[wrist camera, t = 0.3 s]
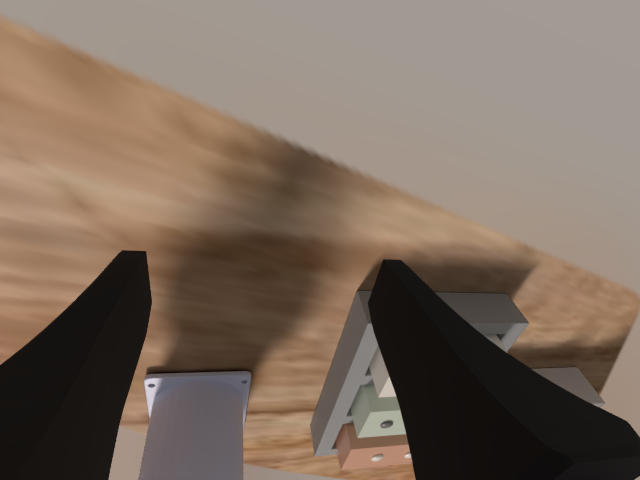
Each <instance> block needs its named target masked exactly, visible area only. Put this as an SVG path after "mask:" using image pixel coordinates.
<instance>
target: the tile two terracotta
mask: <svg viewBox="0 0 640 480" xmlns="http://www.w3.org/2000/svg"><path fill="white" fill-rule="evenodd" d="M335 442H336V448H337V453H338V458H339V464H340V469H341V470H347V469H357V468H367V467H377V466H387V465H397V464H407V463H412V458H411V454H410V449H409V445H408V440H407V435H406V434H402V435H389V436H377V437H364V438H357V435H356V430H355V426H354V423H346V424H343V425H342V427H341V429H340V431H339V433H338V436H337V438H336V440H335Z"/></svg>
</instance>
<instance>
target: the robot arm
mask: <svg viewBox="0 0 640 480" xmlns="http://www.w3.org/2000/svg"><path fill="white" fill-rule="evenodd" d="M151 305H152V298H151V290H150V281H149V272H148V264H147V255H146V251H125V250H122V251H121V252H120V253H119V254H118V255H117V256H116V257H115V258H114V259H113V260H112V262H111V263H110V264H109V265H108V266H107V267H106V268H105V269H104V271H103V272H102V273H101V274H100V275H99V276H98V277H97V278H96V279H95V280H94V281H93V282H92V284H91V285H90V286H89V287H88V288H87V289H86V290H85V291H84V292H83V293H82V294H81V295H80V296H79V297H78V298H77V299H76V300H75V301H74V302H73V303H72V304H71V305H70V306H69V307H68V308H67V309H66V310H65V311H63V312H62V313H61V314H60V315H59V316H58V317H57V318H56V319H55V320H54V321H53V322H52V323H50V324H49V325H48V326H47V327H46V328H45V329H44V330H43V331H42V332H40V333H39V334H38V335H37V336H36V337H35V338H33V339H32V340H31V341H30V342H29V343H28V344H26V345H25V346H24V347H23V348H21V349H20V350H19V351H18V352H16V353H15V354H14V355H13V356H11V357H10V358H9V359H8V360H6V361H5V362H4V363H2V364H1V365H0V480H108V478H109V473H110V468H111V463H112V457H113V453H114V448H115V443H116V438H117V433H118V428H119V423H120V420H121V416H122V412H123V408H124V405H125V402H126V399H127V395H128V392H129V389H130V386H131V382H132V379H133V376H134V373H135V370H136V366H137V363H138V360H139V357H140V353H141V350H142V347H143V344H144V340H145V337H146V333H147V328H148V322H149V317H150V311H151ZM368 308H369V313H370V318H371V323H372V327H373V331H374V334H375V337H376V340H377V343H378V346H379V349H380V352H381V355H382V357H383V360H384V363H385V366H386V369H387V371H388V374H389V377H390V380H391V383H392V385H393V388H394V391H395V394H396V397H397V400H398V404H399V407H400V411H401V415H402V419H403V423H404V427H405V431H406V435H407V440H408V445H409V449H410V454H411V458H412V463H413V467H414V473H415V478H416V480H634V479H636V478H637V477H639V476H640V437H639V436H638V434H637V433H636V432H635V431H634V429H633V428H632V427H631V425H630V424H629V423H628V422H627V421H625V420H623V419H621V418H619V417H617V416H615V415H613V414H611V413H609V412H607V411H605V410H603V409H601V408H599V407H597V406H595V405H593V404H591V403H589V402H587V401H585V400H583V399H581V398H580V397H578V396H576V395H574V394H572V393H571V392H569V391H567V390H565V389H564V388H562V387H560V386H558V385H556V384H555V383H553V382H551V381H550V380H548V379H546V378H545V377H543V376H541V375H540V374H538V373H537V372H535V371H534V370H532V369H530V368H529V367H527V366H526V365H524V364H523V363H521V362H520V361H518V360H517V359H515V358H514V357H512V356H511V355H509V354H508V353H507V352H505V351H504V350H502V349H501V348H500V347H498V346H497V345H496V344H494V343H493V342H492V341H490V340H489V339H488V338H486V337H485V336H484V335H482V334H481V333H480V332H479V331H477V330H476V329H475V328H474V327H473V326H471V325H470V324H469V323H468V322H467V321H466V320H464V319H463V318H462V317H461V316H460V315H459V314H457V313H456V312H455V311H454V310H453V309H452V308H451V307H450V306H449V305H448V304H446V303H445V302H444V301H443V300H442V299H441V298H440V297H439V296H438V295H437V294H436V293H435V292H434V291H433V290H432V289H431V288H430V287H429V286H428V285H427V284H425V283H424V282H423V281H422V280H421V279H420V278H419V277H418V276H417V275H416V274H415V273H414V272H413V271H412V270H411V269H410V268H409V267H408V266H407V265H406V264H405V263H403V262H402V261H401V260H383V262H382V265H381V268H380V271H379V273H378V276H377V279H376V282H375V284H374V287H373V290H372V293H371V295H370V298H369V301H368ZM250 382H251V373H250V372H248V371H229V372H196V373H164V374H148V375H146V376H145V379H144V385H145V392H146V398H147V405H148V412H149V419H150V421H149V426H148V431H147V436H146V442H145V447H144V452H143V457H142V462H141V468H140V473H139V478H138V480H243V430H244V423H245V416H246V410H247V403H248V396H249V389H250Z"/></svg>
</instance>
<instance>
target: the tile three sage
mask: <svg viewBox="0 0 640 480" xmlns="http://www.w3.org/2000/svg"><path fill="white" fill-rule="evenodd" d="M350 409H351V413H352V417H353V422H354V426H355V430H356V435H357V438H364V437H377V436H389V435H402V434H406V431H405V427H404V423H403V419H402V415H401V411H400V407H399V404H398V400H397V397H379V398H378V395H377V392H376V388H375V385H374V384H366V385H360V387H359V389H358V391H357V393H356V396H355V398H354V400H353V402H352V405H351V407H350Z"/></svg>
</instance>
